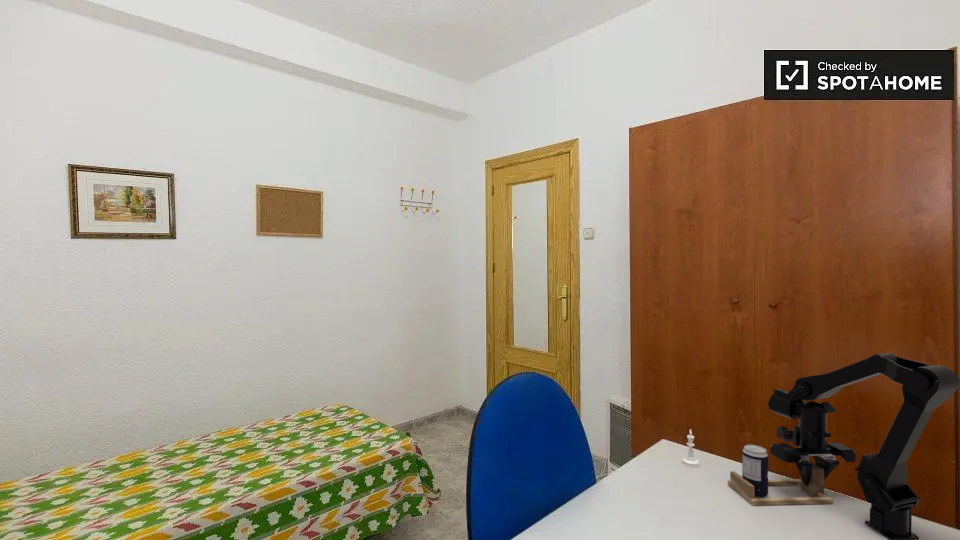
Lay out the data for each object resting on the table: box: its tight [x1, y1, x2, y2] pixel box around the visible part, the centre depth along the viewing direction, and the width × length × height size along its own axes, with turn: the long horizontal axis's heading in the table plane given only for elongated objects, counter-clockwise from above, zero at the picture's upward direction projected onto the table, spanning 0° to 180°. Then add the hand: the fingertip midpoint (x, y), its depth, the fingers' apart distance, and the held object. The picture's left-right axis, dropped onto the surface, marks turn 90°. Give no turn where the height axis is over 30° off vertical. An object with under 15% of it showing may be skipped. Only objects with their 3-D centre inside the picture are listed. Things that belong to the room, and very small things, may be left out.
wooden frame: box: [727, 461, 834, 506], centre depth 114 cm, size 21×10×7 cm, turn 92°
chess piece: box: [681, 429, 701, 468], centre depth 132 cm, size 5×5×10 cm
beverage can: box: [741, 444, 769, 498], centre depth 113 cm, size 6×6×12 cm
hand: (812, 485), depth 114 cm, fingers closed on wooden frame, 3 cm apart
